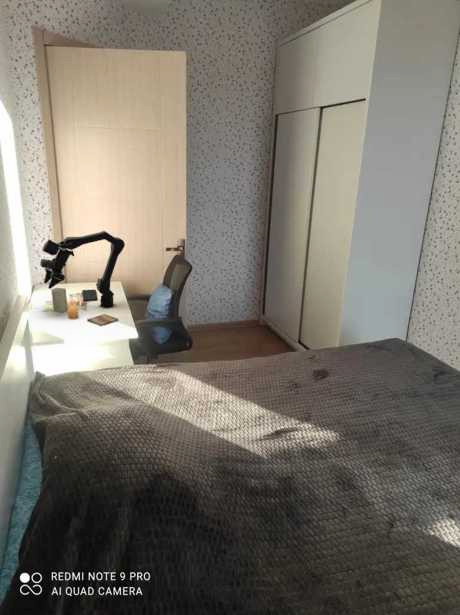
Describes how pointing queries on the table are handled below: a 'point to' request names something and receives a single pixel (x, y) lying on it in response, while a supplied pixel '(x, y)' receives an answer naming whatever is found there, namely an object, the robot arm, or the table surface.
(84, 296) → the smart home device
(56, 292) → the skincare box
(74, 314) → the orange cylinder
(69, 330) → the table surface
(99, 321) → the walnut pad
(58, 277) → the robot arm
